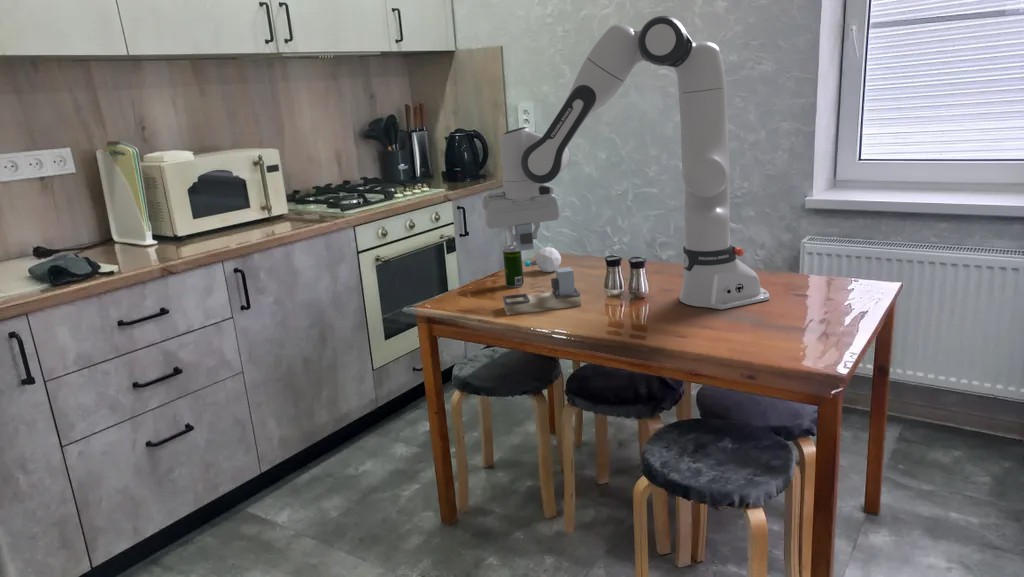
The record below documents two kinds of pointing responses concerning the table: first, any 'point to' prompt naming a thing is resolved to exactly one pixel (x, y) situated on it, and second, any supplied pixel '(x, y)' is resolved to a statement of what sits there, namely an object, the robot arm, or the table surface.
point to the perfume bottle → (546, 260)
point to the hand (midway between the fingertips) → (524, 240)
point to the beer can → (513, 266)
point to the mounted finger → (563, 281)
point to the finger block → (524, 237)
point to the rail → (539, 302)
